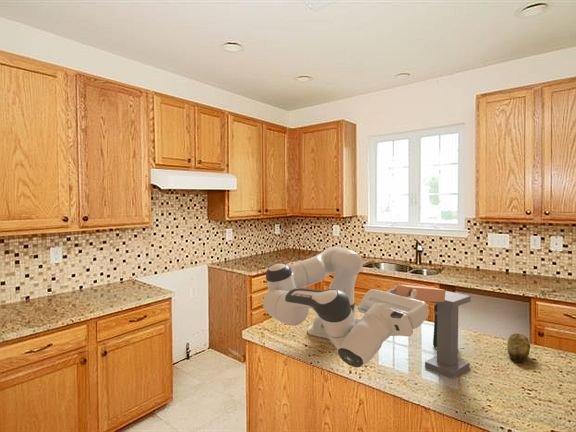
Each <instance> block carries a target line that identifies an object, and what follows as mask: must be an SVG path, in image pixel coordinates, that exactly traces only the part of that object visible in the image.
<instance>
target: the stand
mask: <svg viewBox="0 0 576 432" xmlns="http://www.w3.org/2000/svg"><path fill="white" fill-rule="evenodd" d="M471 297H472V296H471V295H467V294H464V293H463V294H462V293H457V292H454V291H448V290H446V293H445V301H444V302H433V301H426V303H427V302H428V303H433V304H434V305H435V304H437V348H436V356H433V357H431V358H429V359H428V360H426V361H424V368H425V369H428V370H431V371H433V372H435V373H438V374H439V375H442V376H446V377H447V378H450V379H454V378H456V377H458V376H459V375H461V374H463V373H464V372H465V371H467V370H469V369H470V367H471V365H470V362H469V361H466V360H464V359H461V358H459V307H460V306H463V305H465V304H468V303H470V302H471Z"/></svg>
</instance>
